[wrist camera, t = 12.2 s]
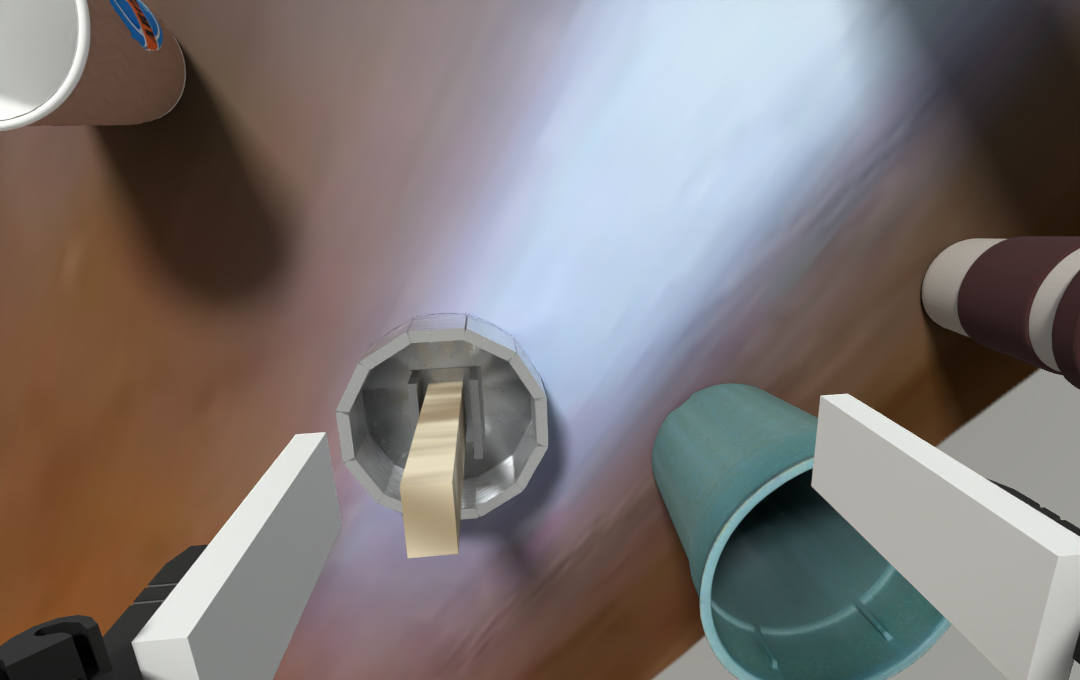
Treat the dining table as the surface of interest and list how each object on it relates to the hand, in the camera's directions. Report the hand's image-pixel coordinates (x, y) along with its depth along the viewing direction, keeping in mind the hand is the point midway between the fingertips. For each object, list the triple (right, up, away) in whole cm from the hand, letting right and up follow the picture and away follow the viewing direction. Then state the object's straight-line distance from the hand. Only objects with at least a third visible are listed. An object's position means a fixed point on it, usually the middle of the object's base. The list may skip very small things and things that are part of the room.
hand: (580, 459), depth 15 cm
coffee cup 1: (-27, +20, +20) cm, 39 cm away
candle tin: (-8, -2, +28) cm, 29 cm away
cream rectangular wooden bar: (-8, -2, +27) cm, 28 cm away
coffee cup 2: (+32, +8, +30) cm, 45 cm away
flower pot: (+14, -6, +31) cm, 35 cm away
